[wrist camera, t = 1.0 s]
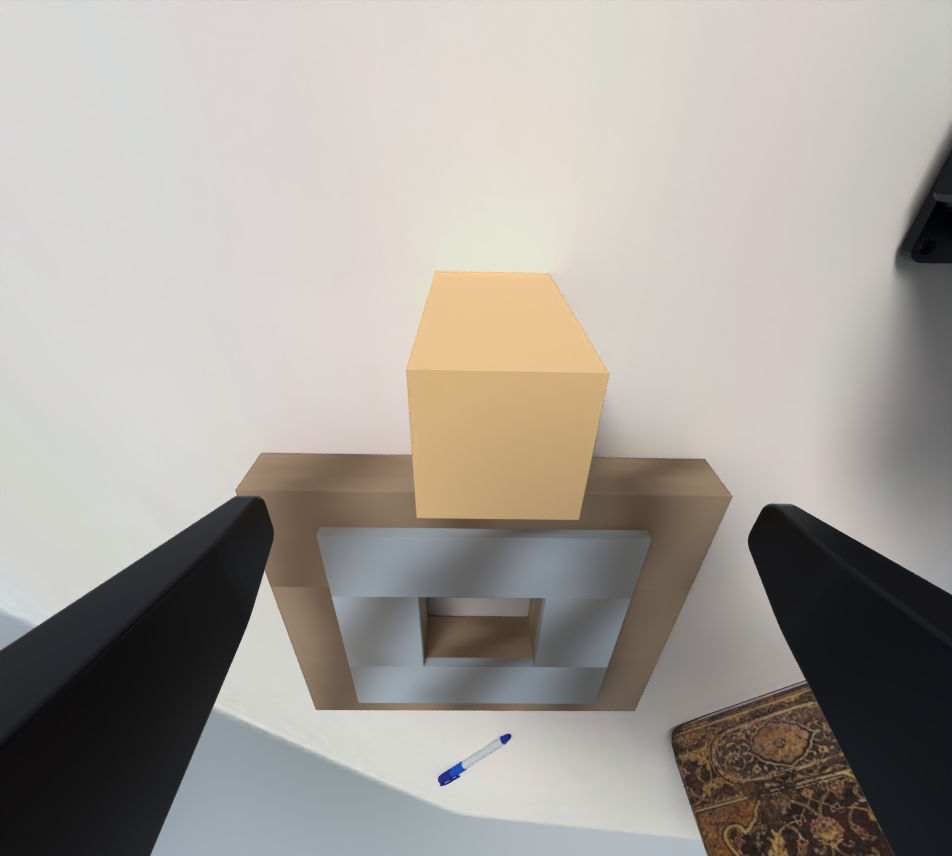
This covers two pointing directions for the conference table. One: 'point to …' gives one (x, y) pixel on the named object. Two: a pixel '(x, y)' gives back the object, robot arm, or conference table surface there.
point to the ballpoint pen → (472, 760)
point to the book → (774, 781)
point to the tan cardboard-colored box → (502, 399)
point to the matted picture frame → (481, 584)
